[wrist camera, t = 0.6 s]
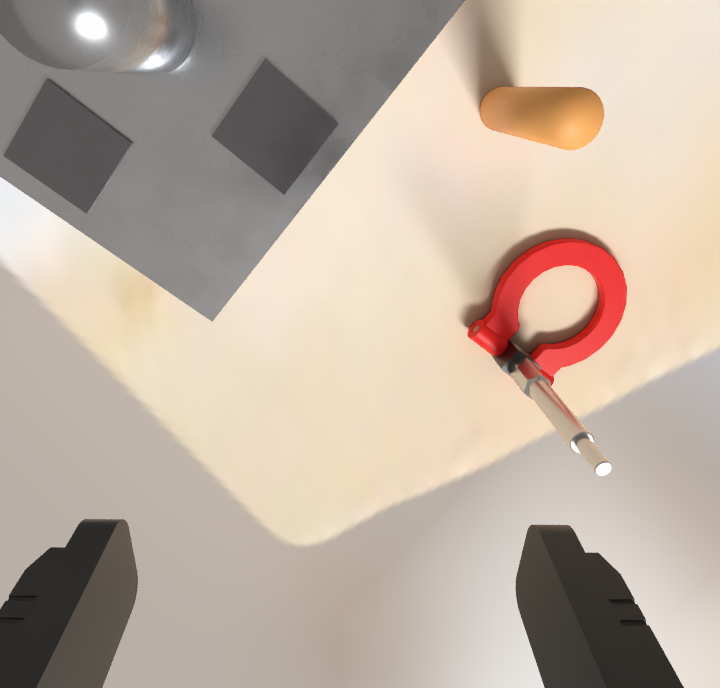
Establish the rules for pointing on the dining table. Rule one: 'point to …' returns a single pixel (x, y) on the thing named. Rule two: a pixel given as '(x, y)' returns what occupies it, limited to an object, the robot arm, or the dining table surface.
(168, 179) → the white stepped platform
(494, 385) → the dining table surface
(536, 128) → the rounded pin
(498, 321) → the tow hook
